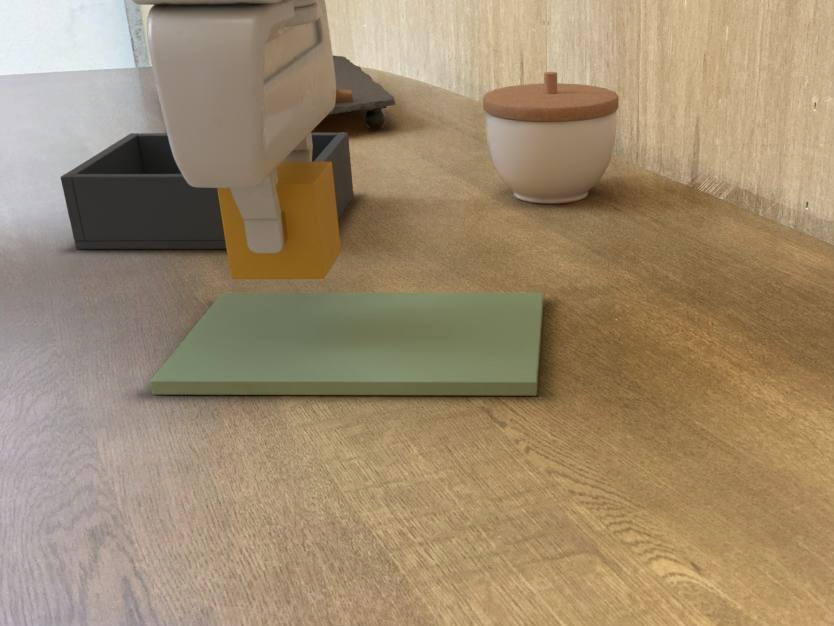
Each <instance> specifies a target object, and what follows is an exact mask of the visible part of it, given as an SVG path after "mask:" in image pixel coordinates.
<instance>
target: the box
mask: <svg viewBox="0 0 834 626" xmlns="http://www.w3.org/2000/svg"><path fill="white" fill-rule="evenodd" d="M311 134H312V143H313V150H312V162H332V169H333V178H334V188H335V198H336V208H337V217H338V221H339V220H340V218H341V217H342V215H343V214H344V212H345V211H346V209H347V207H348V206H349V205H350V203H351V202H352V200H353V199H354V196H355V193H354V185H353V174H352V163H351V150H350V140H349V133H348V132H311ZM60 182H61V186H62V191H63V196H64V200H65V205H66V209H67V213H68V217H69V222H70V227H71V231H72V237H73V240H74V245H75V249H76V250H227V248H226V241H225V235H224V228H223V222H222V215H221V209H220V202H219V196H218V189H217V188H199V187H192V186H190V185H189V184H188V183H187V181H186V180H185V178H184V177H183V175H182V173H181V172H180V170H179V168H178V166H177V164H176V162H175V160H174V157H173V154H172V151H171V147H170V143H169V139H168V135H167V132H149V133H147V132H144V133H143V132H141V133H139V132H136V133H134V132H130V133H129V134H127V135H126V136H124V137H123V138H121V139H119V140H118V141H116V142H114V143H113V144H111V145H109V146H108V147H106V148H104V149H103V150H101V151H100V152H99V153H97V154H95V155H93V156H92V157H90V158H89V159H87V160H85V161H83V162H82V163H81V164H79V165H77V166H76V167H74V168H73V169H70V170H69V171H68V172H66V173H64V174H63V175H62V176H60Z"/></svg>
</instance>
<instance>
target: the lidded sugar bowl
mask: <svg viewBox="0 0 834 626" xmlns="http://www.w3.org/2000/svg"><path fill="white" fill-rule="evenodd" d="M482 106H483V111H484V123H485V136H486V142H487V149H488V153H489V157H490V160H491V163H492V165H493V168H494V170H495V172H496V173H497V175H498V177H499V178H500V179H501V180H502V182H503V183H504V184H505V185H506V186H507V187H508V188H509V189H510V190H512V191H513V195H514V197H515V198H516V199H518V200H520V201H523V202H527V203H535V204H567V203H572V202H577V201H580V200H583V199H585V198H587V197H588V195H589V191H590V190H591V189H592V188H593V187H594V186H595V185H596V184H597V183H598V182H599V181H600V180H601V178H602V177H603V176H604V174H605V173H606V170H607V169H608V167H609V164H610V162H611V160H612V156H613V153H614V149H615V148H614V147H615V141H616V135H617V111H618V110H619V95H618V93H617V92H616V91H614V90H611V89H608V88H605V87H600V86H596V85H589V84H581V83H580V84H579V83H562V82H561V83H559V82H558V72H557V71H544V72H543V83H529V84H528V83H527V84H526V83H525V84H517V85H516V84H515V85H509V86H504V87H499V88H496V89H493V90H490V91H488V92H486V93H485V94H484V95H483V97H482Z"/></svg>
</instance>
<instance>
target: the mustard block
mask: <svg viewBox="0 0 834 626" xmlns="http://www.w3.org/2000/svg"><path fill="white" fill-rule="evenodd" d="M277 175H278V184H277V185H276V189H277V194H278V199H279V204H280V209H281V212H285V219H286V230H287V236H288V240H287V242H286V243H285V245H284V246H283V248H282V250H281V251H279V252H278V253H275V254H256V253H254V252H252V251H251V250H250V249H249V247H248V244H247V238H246V231H245V225H244V219H243V218H242V216H241V214H240V211H239V209H238V207H237V205H236V202H235V200H234V198H233V196H232V193H231V191H230V188H217V189H218V196H219V202H220V209H221V215H222V222H223V228H224V235H225V241H226V248H227V249H226V254H227V260H228V266H229V273H230V279H231V280H325V279H326V277H327V276H328V273H329V272H330V271H331V269H332V267H333V265H334V264H335V262H336V260H337V259H338V257H339V255H340V254H341V252H342V248H341V238H340V228H339V220H338V217H337V208H336V198H335V188H334V178H333V169H332V162H281V163H280V164H279V165H278V166H277Z"/></svg>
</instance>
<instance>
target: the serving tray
mask: <svg viewBox="0 0 834 626" xmlns="http://www.w3.org/2000/svg"><path fill="white" fill-rule="evenodd" d="M332 55H333V62H334V70H335V79H336V101H335V107H334V109H333V110H332V111H331V112H330V113H329V114H328V115H337V114H343V113H345V114H347V113H351V112H352V113H353V112H365V113H364V117H363V118H364V123H365V125H366V126H367V128H368V130H370V131H381V130H383V126H385V124H386V115H385V113H384V111H383V109H387V107H392V106H395V105H396V104H397V103H396V100H395V97H394V96H393V95H392V94H391V93H390V92H389V91H388V90H385V88H384V87H383V85H381V84H380V83H378V82H376V81H374V80H373V78H372V76H370V75H369V74H368V73H366V72H365V71H363V70H362V68H361V67H360V66H358V65H356V64H355V63H353V62H352V61H351V60H350V59H349V58H347V57H346V56H344V55H334V54H332ZM328 115H327V116H328Z"/></svg>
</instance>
